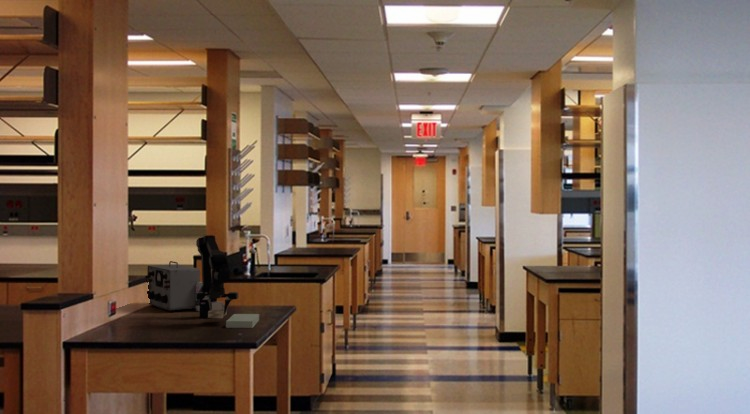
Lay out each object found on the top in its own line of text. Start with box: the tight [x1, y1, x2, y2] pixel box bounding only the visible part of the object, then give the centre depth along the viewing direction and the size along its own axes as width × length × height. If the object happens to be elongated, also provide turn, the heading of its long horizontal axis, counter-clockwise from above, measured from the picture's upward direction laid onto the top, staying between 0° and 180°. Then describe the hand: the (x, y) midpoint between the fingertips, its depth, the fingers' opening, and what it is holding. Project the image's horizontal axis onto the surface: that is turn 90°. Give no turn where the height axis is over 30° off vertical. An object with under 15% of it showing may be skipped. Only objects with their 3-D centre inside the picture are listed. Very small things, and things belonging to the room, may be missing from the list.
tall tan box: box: [207, 307, 228, 319], centre depth 350 cm, size 6×11×3 cm, turn 1°
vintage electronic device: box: [144, 260, 201, 313], centre depth 399 cm, size 32×18×25 cm, turn 37°
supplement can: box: [195, 281, 205, 313], centre depth 391 cm, size 8×8×15 cm
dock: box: [225, 313, 260, 329], centre depth 350 cm, size 12×22×3 cm, turn 1°
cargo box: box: [212, 301, 224, 311], centre depth 350 cm, size 4×4×4 cm
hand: (217, 314), depth 350 cm, fingers closed on tall tan box, 6 cm apart
